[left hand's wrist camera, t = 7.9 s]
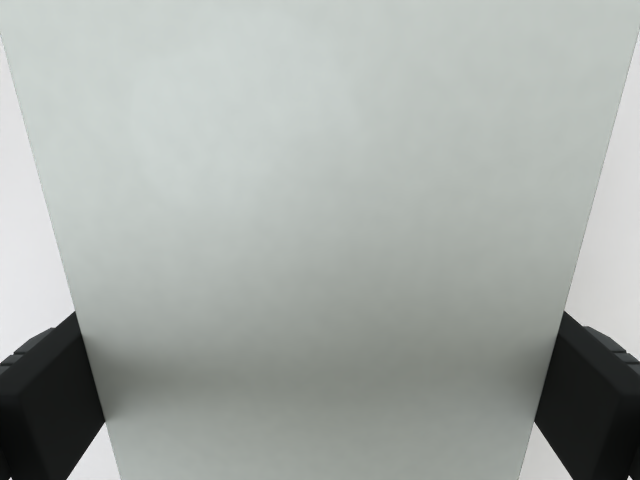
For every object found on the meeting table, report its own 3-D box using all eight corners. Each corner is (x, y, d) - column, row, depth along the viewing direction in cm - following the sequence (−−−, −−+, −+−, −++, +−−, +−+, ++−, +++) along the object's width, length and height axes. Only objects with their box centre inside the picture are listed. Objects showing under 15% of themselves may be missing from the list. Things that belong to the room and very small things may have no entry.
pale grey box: (136, -225, 11) (-272, -958, 3) (501, -225, 11) (906, -952, 3) (208, 339, 18) (128, 510, 11) (430, 338, 18) (511, 509, 11)
